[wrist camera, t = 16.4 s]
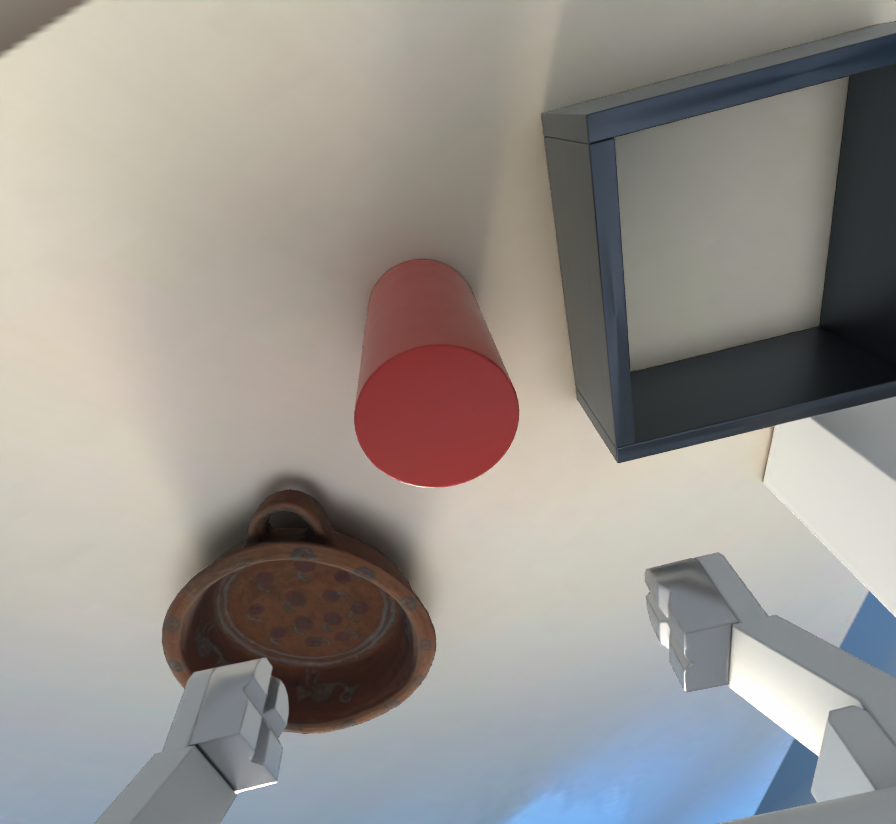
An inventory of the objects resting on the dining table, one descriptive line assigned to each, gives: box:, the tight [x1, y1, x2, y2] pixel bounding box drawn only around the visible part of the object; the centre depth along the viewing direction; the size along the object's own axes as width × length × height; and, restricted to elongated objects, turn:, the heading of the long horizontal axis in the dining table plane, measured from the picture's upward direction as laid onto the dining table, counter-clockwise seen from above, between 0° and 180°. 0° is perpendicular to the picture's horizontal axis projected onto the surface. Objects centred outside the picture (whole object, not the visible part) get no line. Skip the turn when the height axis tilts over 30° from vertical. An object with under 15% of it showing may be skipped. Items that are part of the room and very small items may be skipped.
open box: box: [541, 21, 896, 463], centre depth 26 cm, size 16×16×7 cm
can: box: [354, 259, 519, 488], centre depth 25 cm, size 6×6×12 cm
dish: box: [162, 489, 436, 734], centre depth 38 cm, size 18×22×5 cm
